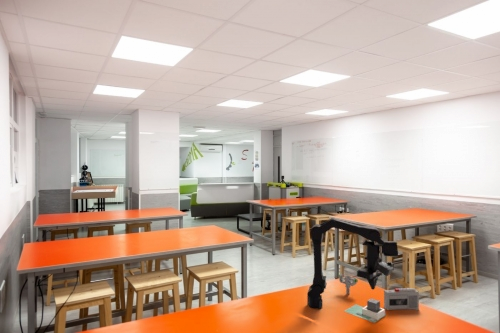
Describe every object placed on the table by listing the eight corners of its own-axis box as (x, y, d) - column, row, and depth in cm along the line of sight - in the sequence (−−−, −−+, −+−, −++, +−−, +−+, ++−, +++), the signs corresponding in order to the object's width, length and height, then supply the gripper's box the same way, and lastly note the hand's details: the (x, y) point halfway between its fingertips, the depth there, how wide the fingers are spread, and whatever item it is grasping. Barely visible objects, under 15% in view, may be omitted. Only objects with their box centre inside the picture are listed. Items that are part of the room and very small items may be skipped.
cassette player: (386, 311, 151) (386, 290, 151) (384, 309, 153) (384, 288, 153) (418, 310, 152) (418, 289, 152) (415, 308, 154) (415, 287, 154)
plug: (366, 313, 146) (366, 300, 146) (370, 311, 149) (370, 298, 149) (375, 317, 143) (375, 303, 143) (379, 314, 145) (379, 301, 145)
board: (343, 312, 149) (343, 310, 149) (355, 306, 156) (355, 303, 156) (374, 324, 138) (374, 322, 138) (386, 316, 145) (386, 314, 145)
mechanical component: (340, 292, 174) (340, 273, 174) (358, 297, 166) (358, 278, 166) (337, 293, 172) (337, 274, 172) (355, 299, 164) (355, 279, 164)
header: (361, 314, 146) (361, 308, 146) (369, 309, 151) (369, 304, 151) (377, 319, 140) (377, 314, 140) (385, 315, 145) (385, 309, 145)
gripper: (380, 263, 135) (380, 300, 134) (399, 255, 147) (399, 289, 147) (356, 257, 143) (356, 292, 143) (376, 250, 155) (376, 282, 155)
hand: (373, 289), depth 147 cm, fingers closed
